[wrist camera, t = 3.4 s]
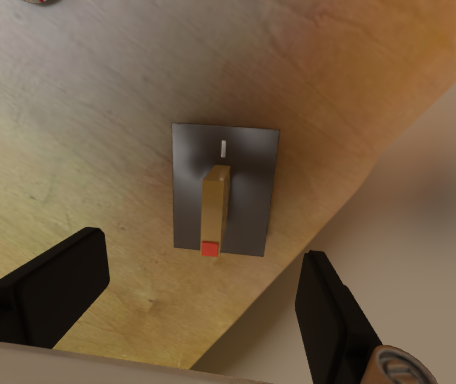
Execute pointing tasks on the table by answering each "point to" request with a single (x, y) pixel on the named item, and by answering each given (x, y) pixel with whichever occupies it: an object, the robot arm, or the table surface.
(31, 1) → the beverage can
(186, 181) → the plate
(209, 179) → the thumbturn
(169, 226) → the table surface
